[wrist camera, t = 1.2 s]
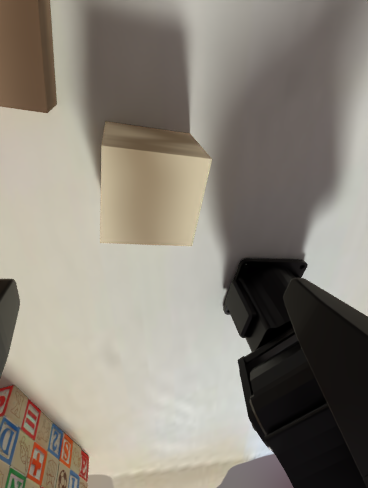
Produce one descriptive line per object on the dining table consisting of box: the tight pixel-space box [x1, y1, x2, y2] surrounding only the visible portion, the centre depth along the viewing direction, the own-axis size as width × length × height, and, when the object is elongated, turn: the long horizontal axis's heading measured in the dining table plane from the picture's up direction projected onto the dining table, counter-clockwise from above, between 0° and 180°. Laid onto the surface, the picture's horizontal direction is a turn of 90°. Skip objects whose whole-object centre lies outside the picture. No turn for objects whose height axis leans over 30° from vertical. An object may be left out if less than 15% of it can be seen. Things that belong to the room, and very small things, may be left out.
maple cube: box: [100, 121, 212, 246], centre depth 16 cm, size 5×5×5 cm
